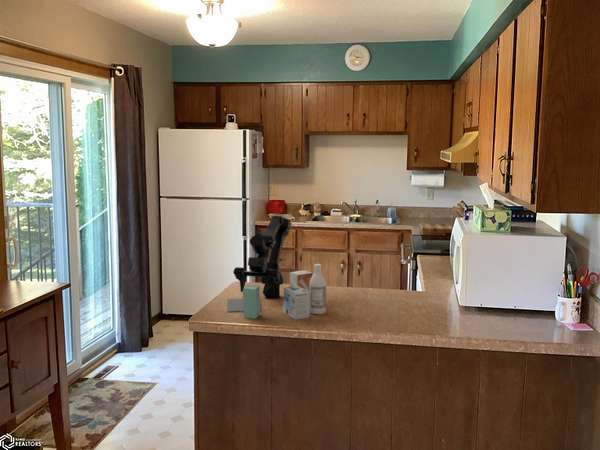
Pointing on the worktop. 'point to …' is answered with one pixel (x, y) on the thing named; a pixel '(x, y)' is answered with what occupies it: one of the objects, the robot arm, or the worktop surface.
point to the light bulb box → (296, 302)
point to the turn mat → (236, 305)
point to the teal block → (251, 301)
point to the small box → (300, 279)
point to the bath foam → (317, 292)
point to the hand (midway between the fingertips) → (252, 292)
